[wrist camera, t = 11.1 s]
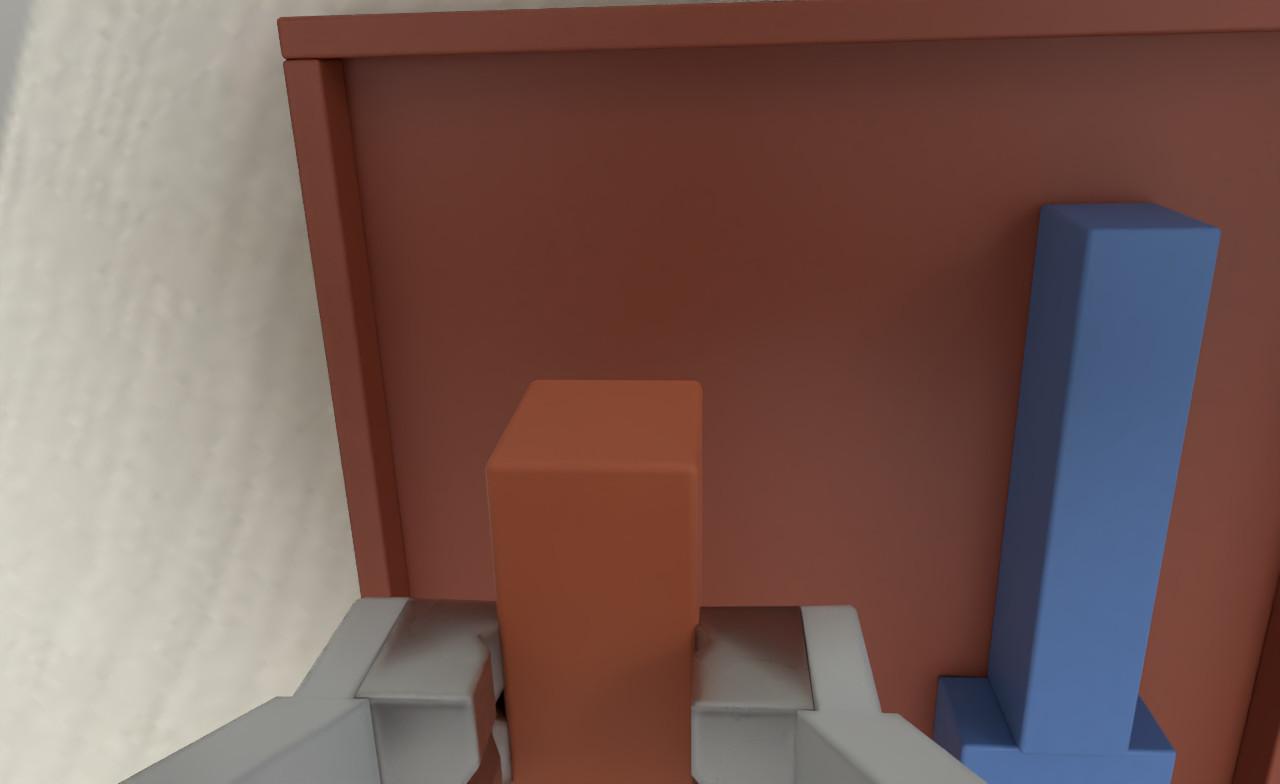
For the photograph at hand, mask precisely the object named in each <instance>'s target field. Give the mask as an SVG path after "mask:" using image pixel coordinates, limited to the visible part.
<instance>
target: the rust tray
mask: <svg viewBox="0 0 1280 784" xmlns="http://www.w3.org/2000/svg"><path fill="white" fill-rule="evenodd" d="M277 26H278V33H279V40H280V46H281V53H282V56H283V58H285V59H287V60H285V61H284V62H283V67H284V74H285V81H286V88H287V95H288V101H289V108H290V115H291V122H292V129H293V135H294V142H295V149H296V156H297V163H298V169H299V176H300V183H301V190H302V197H303V204H304V210H305V217H306V224H307V231H308V238H309V244H310V251H311V258H312V265H313V272H314V278H315V285H316V292H317V299H318V306H319V313H320V319H321V326H322V333H323V340H324V347H325V353H326V360H327V367H328V374H329V381H330V387H331V394H332V401H333V408H334V415H335V422H336V428H337V435H338V442H339V449H340V456H341V462H342V469H343V476H344V483H345V490H346V497H347V503H348V510H349V517H350V524H351V531H352V537H353V544H354V551H355V558H356V565H357V571H358V578H359V585H360V592H361V598H364V597H409V598H411V599H414V598H429V599H455V600H481V601H496V594H495V582H494V569H493V557H492V545H491V533H490V521H489V509H488V497H487V485H486V473H485V468H486V465H487V462H488V460H489V458H490V456H491V455H492V453H493V451H494V449H495V447H496V446H497V444H498V442H499V440H500V438H501V436H502V435H503V433H504V431H505V429H506V427H507V425H508V424H509V422H510V420H511V418H512V416H513V414H514V413H515V411H516V409H517V407H518V405H519V404H520V402H521V400H522V398H523V396H524V394H525V393H526V391H527V389H528V387H529V385H530V383H531V382H533V381H535V380H684V381H697V382H699V383H700V384H701V386H702V389H703V524H702V607H722V606H819V605H852V606H853V607H854V608H855V609H856V611H857V615H858V619H859V623H860V627H861V631H862V635H863V639H864V643H865V647H866V651H867V655H868V659H869V663H870V667H871V671H872V675H873V679H874V683H875V687H876V691H877V695H878V699H879V703H880V707H881V711H882V713H898V714H899V715H901V716H902V717H903V718H905V719H906V720H907V721H908V722H910V723H911V724H912V725H914V726H915V727H916V728H917V729H919V730H920V731H921V732H923V733H924V734H925V735H926V736H928V737H929V738H930V739H932V740H933V733H934V722H935V711H936V701H937V690H938V681H939V678H940V677H980V678H988V675H987V673H988V665H989V656H990V647H991V638H992V630H993V621H994V612H995V604H996V595H997V586H998V577H999V569H1000V560H1001V551H1002V542H1003V534H1004V525H1005V516H1006V508H1007V499H1008V490H1009V481H1010V473H1011V464H1012V455H1013V446H1014V438H1015V429H1016V420H1017V411H1018V403H1019V394H1020V385H1021V377H1022V368H1023V359H1024V350H1025V342H1026V333H1027V324H1028V315H1029V307H1030V298H1031V289H1032V280H1033V272H1034V263H1035V254H1036V246H1037V237H1038V228H1039V219H1040V211H1041V208H1042V206H1044V205H1047V204H1107V203H1155V204H1158V205H1160V206H1163V207H1166V208H1168V209H1171V210H1173V211H1176V212H1179V213H1181V214H1184V215H1187V216H1189V217H1192V218H1194V219H1197V220H1200V221H1202V222H1205V223H1207V224H1210V225H1213V226H1215V227H1218V228H1220V230H1221V237H1220V242H1219V248H1218V253H1217V259H1216V264H1215V270H1214V275H1213V281H1212V287H1211V292H1210V298H1209V303H1208V309H1207V314H1206V320H1205V325H1204V331H1203V336H1202V342H1201V348H1200V353H1199V359H1198V364H1197V370H1196V375H1195V381H1194V386H1193V392H1192V398H1191V403H1190V409H1189V414H1188V420H1187V425H1186V431H1185V436H1184V442H1183V448H1182V453H1181V459H1180V464H1179V470H1178V475H1177V481H1176V486H1175V492H1174V498H1173V503H1172V509H1171V514H1170V520H1169V525H1168V531H1167V536H1166V542H1165V547H1164V553H1163V559H1162V564H1161V570H1160V575H1159V581H1158V586H1157V592H1156V597H1155V603H1154V609H1153V614H1152V620H1151V625H1150V631H1149V636H1148V642H1147V647H1146V653H1145V659H1144V664H1143V670H1142V675H1141V681H1140V686H1139V692H1138V693H1139V695H1140V696H1141V698H1142V699H1143V701H1144V702H1145V704H1146V706H1147V707H1148V709H1149V710H1150V712H1151V713H1152V715H1153V717H1154V718H1155V720H1156V721H1157V723H1158V724H1159V726H1160V727H1161V729H1162V731H1163V732H1164V734H1165V735H1166V737H1167V738H1168V740H1169V742H1170V743H1171V745H1172V746H1173V748H1174V749H1175V752H1176V758H1175V763H1174V768H1173V773H1172V778H1171V783H1170V784H1280V0H794V1H763V2H732V3H702V4H671V5H640V6H609V7H578V8H547V9H516V10H486V11H455V12H424V13H393V14H362V15H331V16H300V17H280V18H279V19H277ZM510 784H511V783H510Z"/></svg>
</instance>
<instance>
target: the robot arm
mask: <svg viewBox="0 0 1280 784" xmlns="http://www.w3.org/2000/svg"><path fill="white" fill-rule="evenodd" d="M504 687H505V675H504V664H503V653H502V642H501V631H500V622H499V621H498V618H497V606H496V601H481V600H455V599H429V598H414V599H411V598H409V597H364V598H361V599H358V600H356V601H355V602H354V603H353V605H352V607H351V608H350V610H349V611H348V613H347V614H346V616H345V617H344V619H343V620H342V622H341V623H340V625H339V626H338V628H337V629H336V631H335V632H334V634H333V636H332V637H331V639H330V640H329V642H328V643H327V645H326V646H325V648H324V649H323V651H322V652H321V654H320V655H319V657H318V658H317V660H316V662H315V663H314V665H313V666H312V668H311V669H310V671H309V672H308V674H307V675H306V677H305V678H304V680H303V681H302V683H301V684H300V686H299V687H298V689H297V691H296V692H295V694H294V695H293V697H275V698H273V699H271V700H270V701H268V702H266V703H264V704H262V705H260V706H259V707H257V708H255V709H253V710H251V711H250V712H248V713H246V714H244V715H242V716H240V717H239V718H237V719H235V720H233V721H231V722H229V723H228V724H226V725H224V726H222V727H220V728H219V729H217V730H215V731H213V732H211V733H209V734H208V735H206V736H204V737H202V738H200V739H199V740H197V741H195V742H193V743H191V744H189V745H188V746H186V747H184V748H182V749H180V750H178V751H177V752H175V753H173V754H171V755H169V756H168V757H166V758H164V759H162V760H160V761H158V762H157V763H155V764H153V765H151V766H149V767H147V768H146V769H144V770H142V771H140V772H138V773H137V774H135V775H133V776H131V777H129V778H127V779H126V780H124V781H122V782H120V783H118V784H510V783H511V782H512V781H513V772H512V759H511V746H510V733H509V722H508V721H507V718H506V713H505V702H504V690H503V689H504ZM691 775H692V776H693V784H988V783H987V782H986V781H984V780H983V779H982V778H980V777H979V776H978V775H977V774H975V773H974V772H973V771H971V770H970V769H969V768H968V767H966V766H965V765H964V764H962V763H961V762H960V761H959V760H957V759H956V758H955V757H953V756H952V755H951V754H950V753H948V752H947V751H946V750H944V749H943V748H942V747H941V746H939V745H938V744H937V743H935V742H934V741H933V740H932V739H930V738H929V737H928V736H926V735H925V734H924V733H923V732H921V731H920V730H919V729H917V728H916V727H915V726H914V725H912V724H911V723H910V722H908V721H907V720H906V719H905V718H903V717H902V716H901V715H899V714H898V713H882V711H881V707H880V703H879V699H878V695H877V691H876V687H875V683H874V679H873V675H872V671H871V667H870V663H869V659H868V655H867V651H866V647H865V643H864V639H863V635H862V631H861V627H860V623H859V619H858V615H857V611H856V609H855V608H854V607H853V606H852V605H819V606H722V607H700V611H699V623H698V624H697V625H696V626H695V655H693V661H692V694H691Z"/></svg>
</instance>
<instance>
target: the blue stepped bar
mask: <svg viewBox="0 0 1280 784" xmlns="http://www.w3.org/2000/svg"><path fill="white" fill-rule="evenodd" d="M1220 237H1221V230H1220V228H1218V227H1215V226H1213V225H1210V224H1207V223H1205V222H1202V221H1200V220H1197V219H1194V218H1192V217H1189V216H1187V215H1184V214H1181V213H1179V212H1176V211H1173V210H1171V209H1168V208H1166V207H1163V206H1160V205H1158V204H1155V203H1107V204H1047V205H1044V206H1042V208H1041V211H1040V219H1039V228H1038V237H1037V246H1036V254H1035V263H1034V272H1033V280H1032V289H1031V298H1030V307H1029V315H1028V324H1027V333H1026V342H1025V350H1024V359H1023V368H1022V377H1021V385H1020V394H1019V403H1018V411H1017V420H1016V429H1015V438H1014V446H1013V455H1012V464H1011V473H1010V481H1009V490H1008V499H1007V508H1006V516H1005V525H1004V534H1003V542H1002V551H1001V560H1000V569H999V577H998V586H997V595H996V604H995V612H994V621H993V630H992V638H991V647H990V656H989V665H988V673H987V675H988V678H980V677H940V678H939V681H938V690H937V701H936V711H935V722H934V733H933V741H934V742H935V743H937V744H938V745H939V746H941V747H942V748H943V749H944V750H946V751H947V752H948V753H950V754H951V755H952V756H953V757H955V758H956V759H957V760H959V761H960V762H961V763H962V764H964V765H965V766H966V767H968V768H969V769H970V770H971V771H973V772H974V773H975V774H977V775H978V776H979V777H980V778H982V779H983V780H984V781H986V782H987V783H988V784H1170V783H1171V778H1172V773H1173V768H1174V763H1175V758H1176V752H1175V749H1174V748H1173V746H1172V745H1171V743H1170V742H1169V740H1168V738H1167V737H1166V735H1165V734H1164V732H1163V731H1162V729H1161V727H1160V726H1159V724H1158V723H1157V721H1156V720H1155V718H1154V717H1153V715H1152V713H1151V712H1150V710H1149V709H1148V707H1147V706H1146V704H1145V702H1144V701H1143V699H1142V698H1141V696H1140V695H1139V693H1138V692H1139V686H1140V681H1141V675H1142V670H1143V664H1144V659H1145V653H1146V647H1147V642H1148V636H1149V631H1150V625H1151V620H1152V614H1153V609H1154V603H1155V597H1156V592H1157V586H1158V581H1159V575H1160V570H1161V564H1162V559H1163V553H1164V547H1165V542H1166V536H1167V531H1168V525H1169V520H1170V514H1171V509H1172V503H1173V498H1174V492H1175V486H1176V481H1177V475H1178V470H1179V464H1180V459H1181V453H1182V448H1183V442H1184V436H1185V431H1186V425H1187V420H1188V414H1189V409H1190V403H1191V398H1192V392H1193V386H1194V381H1195V375H1196V370H1197V364H1198V359H1199V353H1200V348H1201V342H1202V336H1203V331H1204V325H1205V320H1206V314H1207V309H1208V303H1209V298H1210V292H1211V287H1212V281H1213V275H1214V270H1215V264H1216V259H1217V253H1218V248H1219V242H1220Z"/></svg>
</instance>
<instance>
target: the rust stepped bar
mask: <svg viewBox="0 0 1280 784" xmlns="http://www.w3.org/2000/svg"><path fill="white" fill-rule="evenodd" d="M485 473H486V485H487V497H488V509H489V521H490V533H491V545H492V557H493V569H494V582H495V594H496V606H497V618H498V621H499V622H500V631H501V642H502V653H503V664H504V675H505V687H504V689H503V690H504V702H505V713H506V718H507V721H508V722H509V733H510V746H511V759H512V772H513V781H512V782H511V784H693V776H692V775H691V694H692V661H693V655H695V626H696V625H697V624H698V623H699V611H700V607H702V524H703V389H702V386H701V384H700V383H699V382H697V381H684V380H535V381H533V382H531V383H530V385H529V387H528V389H527V391H526V393H525V394H524V396H523V398H522V400H521V402H520V404H519V405H518V407H517V409H516V411H515V413H514V414H513V416H512V418H511V420H510V422H509V424H508V425H507V427H506V429H505V431H504V433H503V435H502V436H501V438H500V440H499V442H498V444H497V446H496V447H495V449H494V451H493V453H492V455H491V456H490V458H489V460H488V462H487V465H486V468H485Z"/></svg>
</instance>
